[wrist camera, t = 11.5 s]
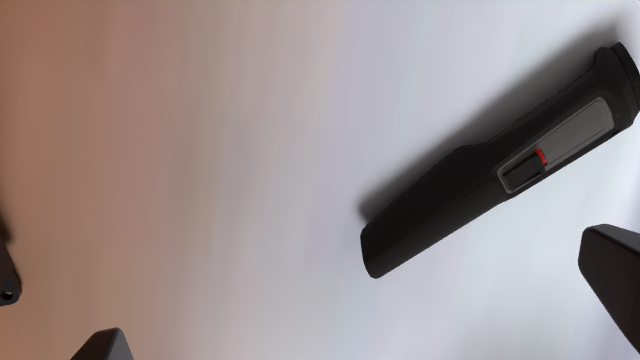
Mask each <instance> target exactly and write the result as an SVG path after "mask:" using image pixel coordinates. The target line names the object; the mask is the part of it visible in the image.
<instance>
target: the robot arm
mask: <svg viewBox="0 0 640 360" xmlns="http://www.w3.org/2000/svg"><path fill="white" fill-rule="evenodd" d="M578 266H579V269H580V272H581V273H582V275H583V277H584V278H585V279H586V281H587V282H588V284H589V285H590V287H591V288H592V290H593V291H594V293H595V294H596V295H597V297H598V298H599V300H600V301H601V303H602V304H603V306H604V307H605V309H606V310H607V312H608V313H609V314H610V316H611V317H612V319H613V320H614V322H615V323H616V325H617V326H618V327H619V329H620V330H621V332H622V333H623V334H624V336H625V337H626V338H627V340H628V341H629V342H630V343H631V345H632V346H633V347H634V348H635V349H636V351H637V352H638V353H639V354H640V234H639V233H636V232H633V231H629V230H626V229H623V228H619V227H616V226H613V225H609V224H600V225H595V226H591V227H588V228H586V229H585V230H584V231H583V234H582V239H581V245H580V251H579V257H578ZM13 267H14V263H13V261H12V259H11V257H10V255H9V253H8V251H7V249H6V247H5V245H4V243H3V241H2V239H1V237H0V306H5V305H10V304H13V303H15V302H17V301H18V299H19V298H20V296H21V293H22V287H21V285H20V283H19V281H18V279H17V277H16V275H15V273H14V271H13ZM4 291H9V292H11V293H12V294H7V293H5V292H4ZM70 360H134V359H133V356H132V354H131V351H130V349H129V346H128V343H127V341H126V338H125V336H124V333H123V331H122V330H121V329H120V328H117V327H115V328H111V329H106V330H101V331H98V332H95V333H94V334H93V335H92V336H91V337H90V338H89V339H88V340H87V341H86V343H85V344H84V345H83V346H82V347H81V348H80V349H79V350H78V351H77V353H76V354H75V355H74V356H73V357H72V358H71V359H70Z"/></svg>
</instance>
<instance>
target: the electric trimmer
mask: <svg viewBox="0 0 640 360" xmlns="http://www.w3.org/2000/svg"><path fill="white" fill-rule="evenodd" d="M616 54H617V55H616ZM595 56H596V62H595V65H594V68H592V69H591V70H590V71H588V72H587V73H586V74H585V75H583V76H582V77H580V78H579V79H577V80H576V81H574V82H573V83H572V84H570V85H569V86H567V87H566V88H564V89H563V90H562V91H560V92H559V93H557V94H556V95H554V96H553V97H551V98H550V99H549V100H547V101H546V102H544V103H543V104H541V105H540V106H538V107H537V108H536V109H534V110H533V111H531V112H530V113H528V114H527V115H525V116H524V117H523V118H521V119H520V120H518V121H517V122H515V123H514V124H513V125H511V126H510V127H508V128H507V129H505V130H504V131H502V132H501V133H500V134H498V135H497V136H495V137H494V138H492V139H491V140H489V141H488V142H487V143H482V144H477V145H469V146H462V147H459V148H457V149H456V150H454V151H453V152H452V153H450V154H449V155H448V156H447V157H445V158H444V159H443V160H441V161H440V162H439V163H438V164H437V165H436V166H434V167H433V168H432V169H431V170H430V171H429V172H427V173H426V174H425V175H424V176H423V177H422V178H420V179H419V180H418V181H417V182H416V183H415V184H414V185H412V186H411V187H410V188H409V189H408V190H407V191H405V192H404V193H403V194H402V195H401V196H400V197H398V198H397V199H396V200H395V201H394V202H393V203H391V204H390V205H389V206H388V207H387V208H386V209H385V210H383V211H382V212H381V213H380V214H379V215H378V216H376V217H375V218H374V219H373V220H372V221H371V222H369V223H368V224H367V225H366V226H365V227H364V228H363V230H362V232H361V235H360V239H361V249H362V256H363V262H364V265H365V267H366V270H367V272H368V274H369V275H370V277H372V278H375V279H377V278H380V277H382V276H383V275H385V274H387V273H388V272H390V271H391V270H393V269H395V268H396V267H398V266H400V265H401V264H403V263H404V262H406V261H408V260H409V259H411V258H412V257H414V256H416V255H417V254H419V253H421V252H422V251H424V250H425V249H427V248H429V247H430V246H432V245H434V244H435V243H437V242H438V241H440V240H442V239H443V238H445V237H446V236H448V235H450V234H451V233H453V232H455V231H456V230H458V229H459V228H461V227H463V226H464V225H466V224H467V223H469V222H471V221H472V220H474V219H476V218H477V217H479V216H480V215H482V214H484V213H485V212H487V211H489V210H490V209H492V208H493V207H495V206H497V205H498V204H500V203H502V202H505V201H507V200H509V199H511V198H513V197H515V196H517V195H519V194H520V193H522V192H524V191H525V190H527V189H529V188H530V187H532V186H534V185H535V184H537V183H538V182H540V181H542V180H543V179H545V178H547V177H548V176H550V175H552V174H553V173H555V172H557V171H558V170H560V169H561V168H563V167H565V166H566V165H568V164H570V163H571V162H573V161H575V160H576V159H578V158H580V157H581V156H583V155H584V154H586V153H588V152H589V151H591V150H593V149H594V148H596V147H598V146H599V145H601V144H603V143H604V142H606V141H607V140H609V139H611V138H612V137H614V136H615V135H617V134H618V133H620V132H622V131H623V130H625V129H627V128H628V127H630V126H631V125H632V124H633V121H634V119H635V117H636V116H637V114H638V113H639V111H640V74H639V71H638V69H637V67H636V65H635V63H634V61H633V59H632V58H631V56H630V54H629V53H628V51H627V50H626V48H625V47H624V46H623V45H622V44H621V43H620V42H618V43H617V44H615V45H614V46H612V47H611V49H608V48H605V47H601V48H600V49H598V50H597V51H596V52H595ZM618 57H619V58H618Z"/></svg>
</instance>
